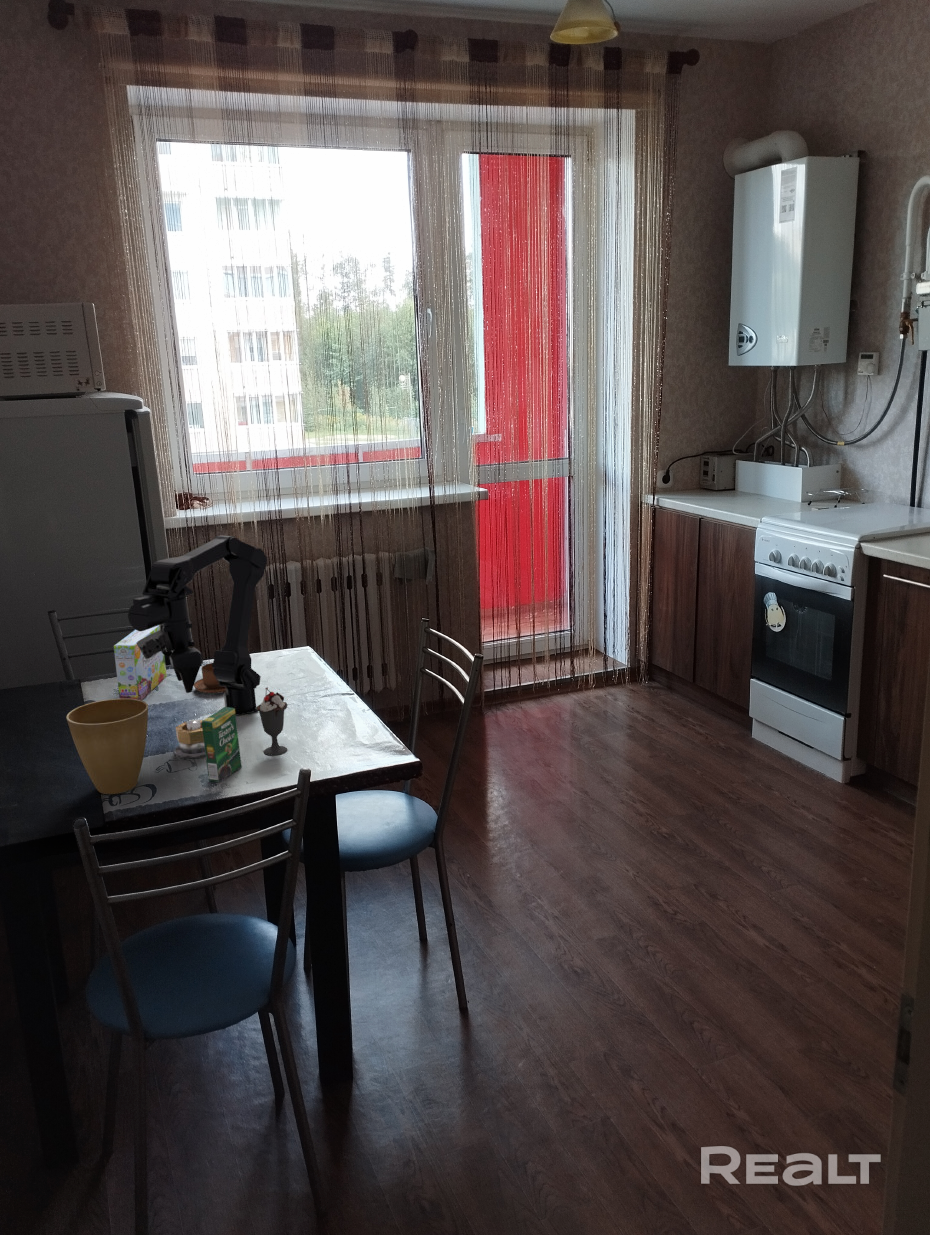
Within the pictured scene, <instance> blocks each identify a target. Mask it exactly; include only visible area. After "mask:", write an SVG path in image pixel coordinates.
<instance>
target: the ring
mask: <svg viewBox="0 0 930 1235" xmlns="http://www.w3.org/2000/svg"><path fill="white" fill-rule="evenodd" d="M199 720H200V724H201V729H198V730H193V731H187V722H188V721H186V722H182V723H181V724H179V725H177V726H176V727H175V732H176V739H177V742H178V743H179V744H180V743H185V744H194V743H199V742H204V738H203V730H202V721H203V720H202V719H199Z"/></svg>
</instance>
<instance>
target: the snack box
mask: <svg viewBox="0 0 930 1235" xmlns="http://www.w3.org/2000/svg"><path fill="white" fill-rule="evenodd" d="M159 630H160V625H158V626H155V627H153V628H150V629H147V630H145V631H137V630H136V629H134V630H133V631H132V632H130V633H129V634H128V635H127V636H125V637H124V638H122V639H121V640H120V641H118V642H117V643H116V644H114V645H113V651H114V652H113V653H114V660H115V671H116V678H117V688H118V697H119V698H118V699H137V700H141V701H143V699H144V698H146V697H147V696H148V695H149V694H150V693H151V692H153V690H155V688H156V687H157V686H159V685H160V683H161V682H163V681H164V680H165V679H166V678H167V676H168V674H167V668H166V656H165V655H164V654H163V653H162V652H161V651H160V652H158V653H156V654H154V655H153V656H152V657H151V658H148V659H145V657H144V655H143V654H142V652H141V650H140V649H139V647H138V645H137V644H136V643H137V642H138V641H139V640H141V639H143V638H145V637H147V636H148V635H150V634H152V633H155V632H157V631H159Z"/></svg>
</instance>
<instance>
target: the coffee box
mask: <svg viewBox="0 0 930 1235" xmlns="http://www.w3.org/2000/svg"><path fill="white" fill-rule="evenodd" d="M236 716H237V715H235V708H229V707H225V706H223V707H222V708H220V709H219V710H217V711H216V712H214V713H212V714H211V715H210V716H208V717H206V718H204V719H203V720H202V730H203V738H204V746H205V753H206V756H205V760H206V768H207V769H206V770H207V777H208V782H214V783H221V782H222V781H224V780H226V779H227V778H228V777H230V776H231V775H232V774H234V773H235V772H237V771H238V770H240V769H241V768H242V767H243V766H242V758H241V748H240V743H239V742H240V741H239V734H238V724H237V717H236Z"/></svg>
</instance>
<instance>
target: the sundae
mask: <svg viewBox="0 0 930 1235" xmlns="http://www.w3.org/2000/svg"><path fill="white" fill-rule="evenodd" d="M267 691H268V692H267ZM287 708H288V703H287V702H286V701H285V697H284V696H283V694H281V693H279V692H278V691H277V692H274V691H270V690H269V687H265V696H264V697H263V700H262V701H261V703H260V704H258V705H256V708H255V709H256V710H257V712H259V717H260V722H261V725H262V728H263V731H264V732H265V734H266V735H267V736H270V737H271V745H270V746H268V747H266V748H265V749H264V750H263V753H264V754H265V755H267V756H279V755H282V754H283V755H284V754H285V753H286V752H287V751H288V748H287V747H286V746H284V745H279V742H278V736H279V735H280V734H281V733H282V732H283V730H284V721H285V710H287Z"/></svg>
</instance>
